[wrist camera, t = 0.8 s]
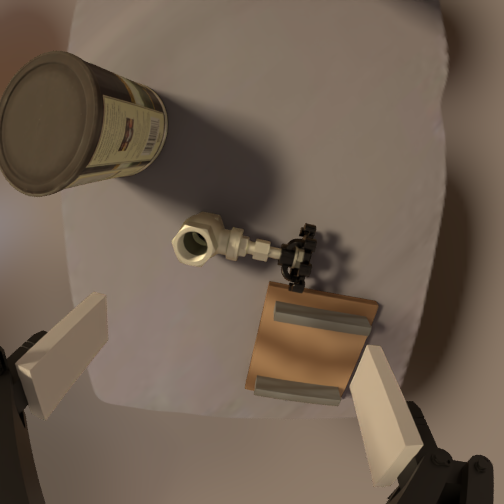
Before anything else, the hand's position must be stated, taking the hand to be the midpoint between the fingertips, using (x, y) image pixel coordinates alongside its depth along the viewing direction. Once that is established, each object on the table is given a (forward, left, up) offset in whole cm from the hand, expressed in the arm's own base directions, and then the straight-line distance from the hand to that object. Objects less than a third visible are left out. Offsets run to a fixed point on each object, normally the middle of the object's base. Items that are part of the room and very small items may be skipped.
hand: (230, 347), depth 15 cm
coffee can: (-9, -16, -19) cm, 26 cm away
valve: (0, -1, -19) cm, 19 cm away
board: (+11, +8, -19) cm, 23 cm away
